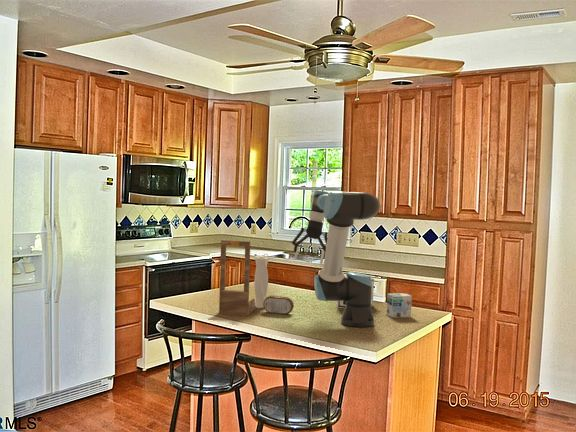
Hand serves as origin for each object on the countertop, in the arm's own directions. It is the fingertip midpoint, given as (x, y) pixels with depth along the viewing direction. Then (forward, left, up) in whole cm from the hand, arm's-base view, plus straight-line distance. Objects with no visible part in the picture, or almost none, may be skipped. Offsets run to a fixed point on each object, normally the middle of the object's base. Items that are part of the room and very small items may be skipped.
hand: (308, 261), depth 281 cm
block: (+8, -27, -25) cm, 37 cm away
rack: (-9, +35, -24) cm, 44 cm away
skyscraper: (+2, +23, -25) cm, 34 cm away
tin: (-11, +15, -25) cm, 31 cm away
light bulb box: (-12, -45, -25) cm, 53 cm away
